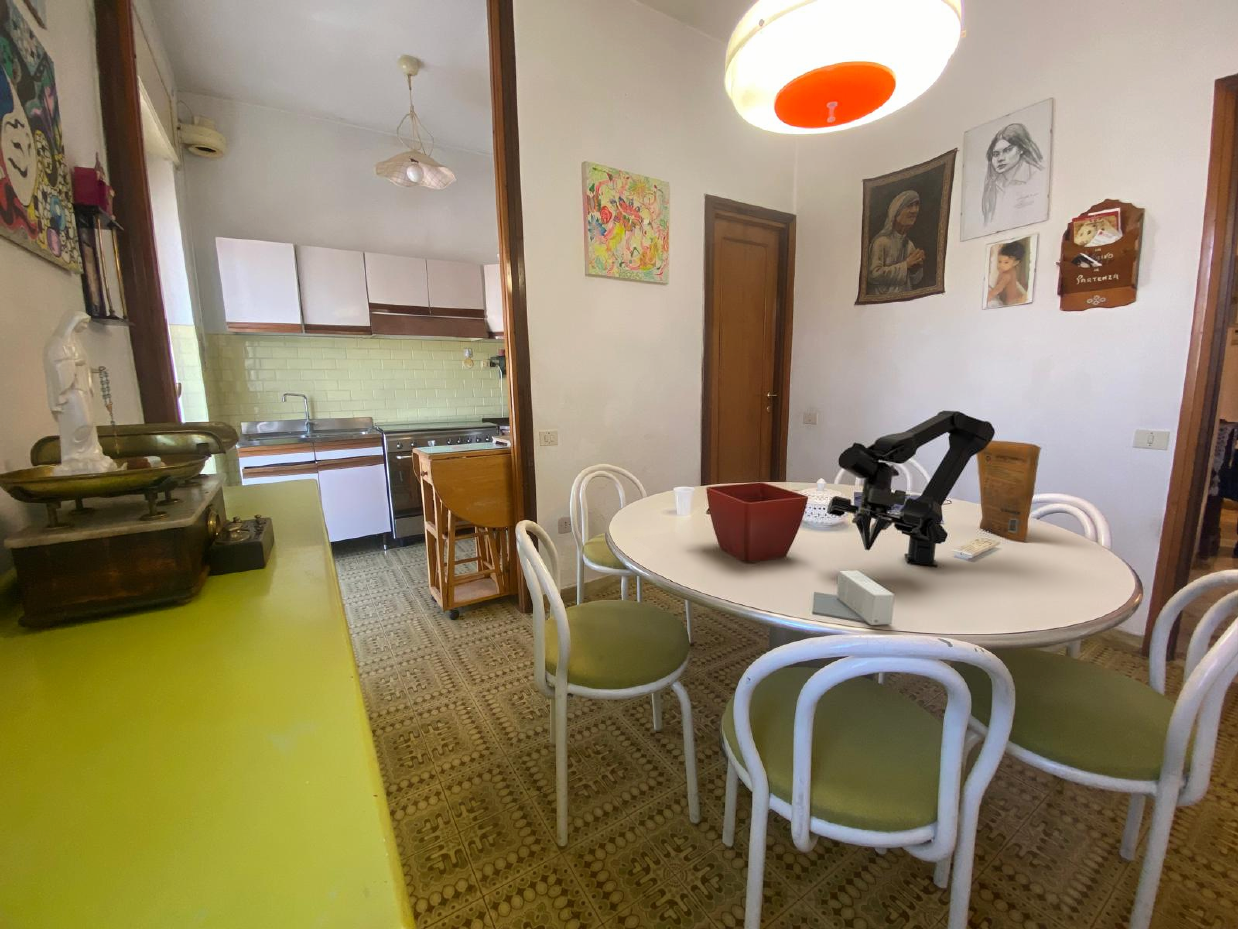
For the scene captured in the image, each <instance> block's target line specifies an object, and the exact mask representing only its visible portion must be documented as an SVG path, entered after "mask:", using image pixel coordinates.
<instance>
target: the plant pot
mask: <svg viewBox="0 0 1238 929" xmlns="http://www.w3.org/2000/svg"><path fill="white" fill-rule="evenodd" d="M705 490H706V497H707V505H708V510H709V515H710V519H711V524H712V528H713V531H714V534H715V537H716V540H717V544H718V546H719V548H720V549H722V550H723V551H725V552H726V553H728V554H730V555H732V556H733V557H735V558H737V559H739V560H740V561H742V562H744V563H755V562H762V561H768V560H769V561H770V560H776V559H782V558H785V557H787V555H788V553H789V551H790V549H791V547H792V545H793V543H794V541H795V539H796V537H797V534H798V532H799V529H800V528H801V527H800V526H801V524H802V521H803V518H804V516H805V512H806V508H807V505H808V500H809V496H808V495H804V494H802V493H798V492H795V491H792V490H789V489H786V488H781V487H779V486H776V485H773V484H768V483H765V482H748V483H737V484H727V485H726V484H725V485H715V486H714V485H713V486H707V487H706V488H705Z"/></svg>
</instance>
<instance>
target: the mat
mask: <svg viewBox="0 0 1238 929" xmlns="http://www.w3.org/2000/svg"><path fill="white" fill-rule="evenodd" d="M812 601H813V602H812V613H814V615H820V616H825V617H830V616H831V617H830V618H836V619H842V620H848V621H853V622H854V621H855V622H859V623H865V624H869V623H868V622H867V621H866V620H864V619H863V618H862V617H860V616H859V615H858V614H857V613H855V612H854V611H853V610H852V609H850V608H849V607H848V606H847V605H845V604H844V603H843V602H842V601H840V600H839V599H838V598H837V594H831V593H824V592H819V591H814V592H813V600H812Z"/></svg>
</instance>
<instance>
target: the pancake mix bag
mask: <svg viewBox="0 0 1238 929" xmlns="http://www.w3.org/2000/svg"><path fill="white" fill-rule="evenodd" d="M1041 450H1042V447H1041V446H1038V445H1036V444H1032V443H1026V442H1015V441H1004V440H993V439H992V440H991V441H990V443H989V444H988V445H987V446H986V448H985V449H984V450H982V451H980V452H979V453H977V454H975V455H976V462H977V474H978V484H979V494H980V496H979V498H980V508H981V509H980V510H981V520H980V523H979V529H980V528H981V529H983V530H982V531H984V530H985V531H984V532H987V531H989V532H988V533H990V532H991V533H990V534H992V533H993V535H995V534H997V535H996V536H998V535H999V537H1001V538H1003V537H1005V538H1004V539H1006V538H1007V539H1006V540H1008V539H1010V540H1009V541H1014V542H1019V541H1021V543H1028V530H1029V529H1028V528H1029V518H1030V515H1031V514H1030V513H1031V507H1032V502H1033V497H1034V494H1035V485H1036V480H1037V472H1038V466H1039V461H1040V455H1041V454H1040V453H1041ZM981 529H980V530H981Z"/></svg>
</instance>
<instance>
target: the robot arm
mask: <svg viewBox="0 0 1238 929" xmlns="http://www.w3.org/2000/svg"><path fill="white" fill-rule="evenodd" d="M995 430H996V429H995V427H994V426H993V424H992V423H991V422H990V421H988V420H987V421H986V420H981V419H979V418H975V417H972V416H970V415H967V414H966V413H964V412H961V411H959V410H942V411H939V412H938V413H937V414H936V415H935V416H931V417H930V418H929V419H926V420H925V421H923V422H921V423H919V424H917V425H915V426H913V427H911V428H909V429H908V430H905V431H903V432H898V433H891V434H887V435H883V436H881V437H879V438H877V439H875V441H874V443H872V444H870V445H869V446H867V447H866V446H865V445H863V443H860V442H854V443H853V444H852V446H850V447H847V448H846V449H845V450H844V451H843V452H842V453H840V455H839V458H838V460H837V462H838V466H839V467H840V468H841V469H843V470H844V471H847V472H848V473H849V474H851V475H853V476H855V478H858V479H864V480H863V486H862V492H861V495H860V497H861V498H860V505H854V504H852V499H850V498H847V497H841V496H837V495H835V496H833V497H831V499H830V501H829V503H828V505H827V511H826V513H827V514H829V515H831V516H836V517H842V516H844V515H845V513H848V514H853V516H854V517H853V518H852V520H851V523H853V524H855V525H856V527H857V529H858V532H859V534H860V538H861V540H862V544H863V546H864V547H863V548H864V550H866V551H870V550H871V549H872V547H873V546H874V543H875V541H877V540H876V539H877V538H878V536H879V534H880V533H881V531H886V530H887V529H888V528H889V527H891V526H892V525H893V527H894V529H896V531H900V532H901V534H902V535H906V536H909V539H908V550H907V553H904V558H905V560H906V562H907V564H912V565H920V566H928V567H936V568H937V567H939V564H938V563H937V561H936V559H935V558H936V557H935V555H936V554H935V553H936V546H937V545H939V544H940V545H941V544H942V543H945V542H946V540H947V537H948V532H947V531H946V529H945V528H944V527H943V526H942V524H941V523H942V520H943V517H944V516H943V510H942V508H943V507H942V506H943V504H944V503H945V501H946V499H947V497H948V496H949V494H950V493H951V492H952V490H953V488H954V486H955V484H956V483H957V481H958V479H959V478H960V476H961V474H962V473H963V472H964V469H965V468H966V467H967V465H968V463H969V461H970V460H971V458H972V457H973V456H975V455H976V454H977V453H979V452H980V451H982V450H984V449H985V448H986V446H987V445H988V444H989V443H990V441H991V440H993V438H994V436H995V433H996V431H995ZM945 434H949V435H948V444H949V448H948V449H947V451H946V453H945V455H944V457H943V458H942V460H941V462H940V463H939V465H938V466H937V467H936V469H935V471H934V473H933V474H932V477H931V478H930V479H929V482H928V483H927V485H926V486H925V488H924V490H923V491H922V493H921V495H919V496H918V497H917V498H911V497H909V498H908V499H906V498H907V491H906V490H900V489H895V490H894V492H892V488H891V487H892V482H893V477H899V476H900V473H899V471H898V470H897V469H896V468H895V466H894V465H893V464H892V465H890V464H888V463H894V464H898V465H903V464H904V463H905V464H906V462H908V461H909V460H910V459H911V458H912V457H914V456H915V455H916V454H917V450H918V449H920V447H922V446H924V445H925V444H927V443H930V442H932V441H933V440H936V439H937V438H939V437H941V436H943V435H945ZM895 505H897V506H903V507H902V508H901V509H900V510H899V512H900V513H899V514H893V513H888V512H889V511H892V508H895ZM872 519H874V522H873V523H872ZM871 523H872V524H871ZM936 544H937V545H936Z"/></svg>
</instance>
